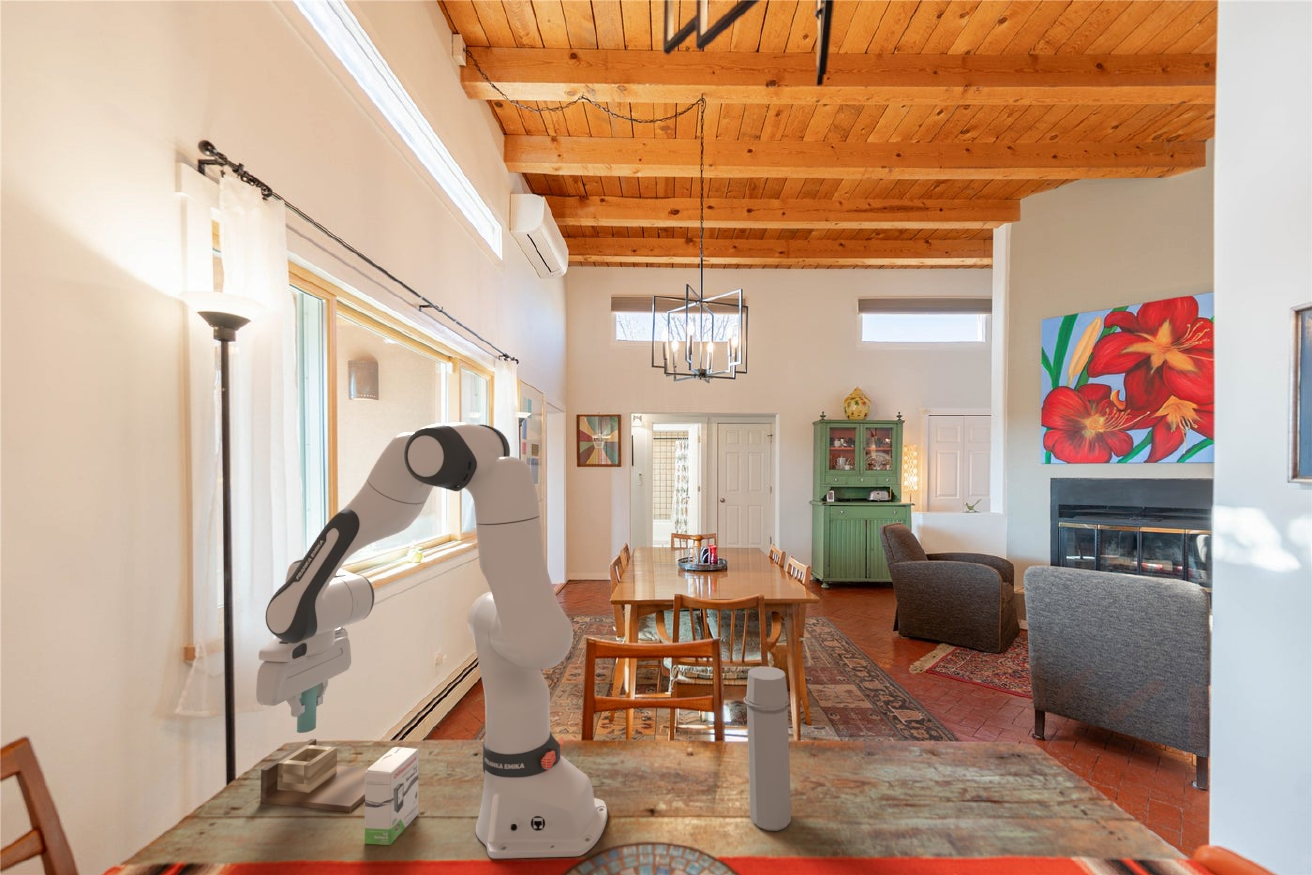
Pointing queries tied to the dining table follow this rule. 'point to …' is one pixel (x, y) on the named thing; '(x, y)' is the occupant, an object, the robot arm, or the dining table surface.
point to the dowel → (308, 711)
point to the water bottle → (768, 748)
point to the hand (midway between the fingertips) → (307, 710)
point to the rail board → (330, 795)
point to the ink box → (391, 795)
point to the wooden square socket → (307, 768)
